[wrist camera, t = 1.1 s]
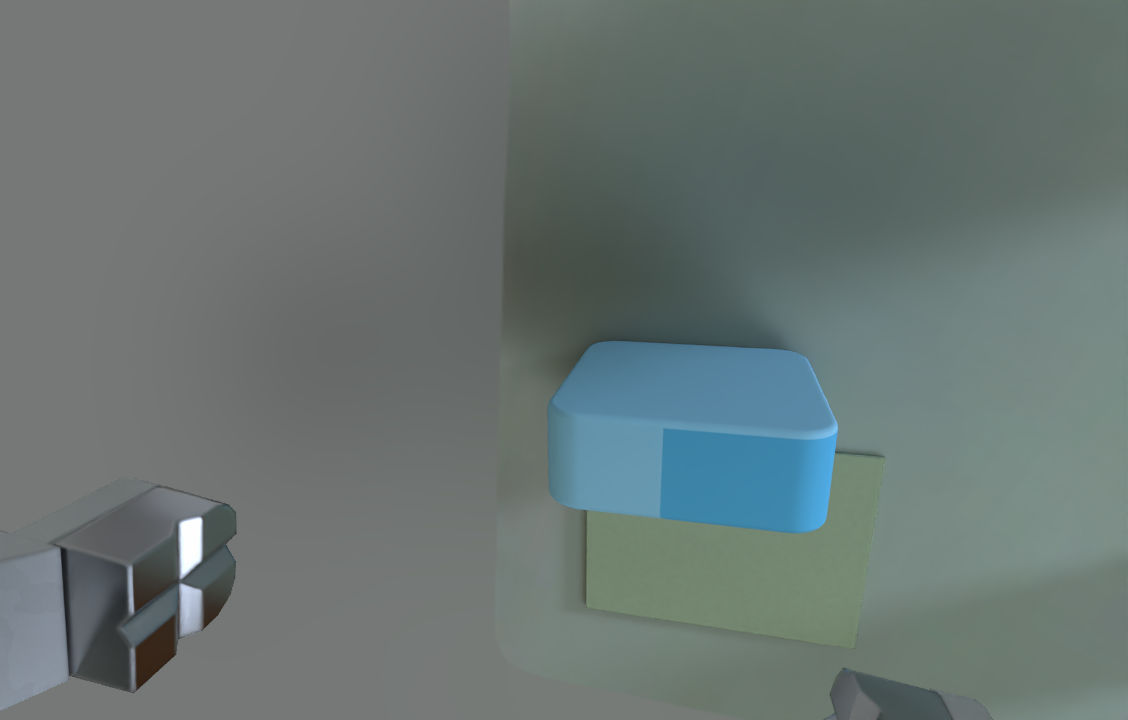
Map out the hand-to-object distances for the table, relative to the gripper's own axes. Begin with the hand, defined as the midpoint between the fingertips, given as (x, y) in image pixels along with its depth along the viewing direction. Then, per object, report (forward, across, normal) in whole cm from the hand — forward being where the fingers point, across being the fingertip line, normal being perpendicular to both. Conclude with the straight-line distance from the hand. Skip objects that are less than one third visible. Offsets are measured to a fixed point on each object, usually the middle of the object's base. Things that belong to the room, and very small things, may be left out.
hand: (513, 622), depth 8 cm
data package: (+29, -4, +5) cm, 30 cm away
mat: (+29, -8, +14) cm, 34 cm away
